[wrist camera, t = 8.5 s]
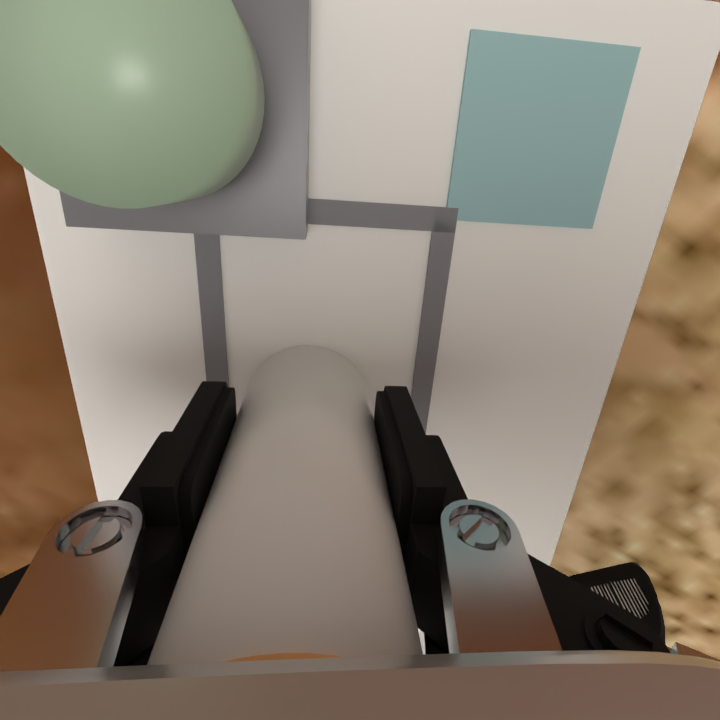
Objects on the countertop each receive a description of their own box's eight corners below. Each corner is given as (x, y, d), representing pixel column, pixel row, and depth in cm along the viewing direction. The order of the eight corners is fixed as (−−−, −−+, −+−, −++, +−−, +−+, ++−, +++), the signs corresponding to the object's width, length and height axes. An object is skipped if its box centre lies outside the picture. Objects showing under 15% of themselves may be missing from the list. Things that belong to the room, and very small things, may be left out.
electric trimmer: (558, 752, 24) (590, 829, 21) (554, 572, 18) (599, 648, 15) (622, 738, 24) (662, 813, 21) (640, 553, 18) (701, 625, 15)
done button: (262, -35, 7) (238, -116, 5) (266, 207, 8) (250, 216, 6) (15, -64, 6) (-111, -164, 4) (65, 195, 8) (-15, 200, 6)
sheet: (712, 12, 10) (738, 2, 9) (518, 629, 19) (525, 645, 18) (-11, -73, 9) (-39, -94, 8) (140, 643, 17) (132, 661, 16)
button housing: (311, -17, 9) (309, -54, 7) (307, 231, 11) (305, 239, 9) (55, -47, 8) (3, -91, 7) (100, 220, 10) (66, 226, 9)
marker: (375, 346, 12) (556, 933, 3) (365, 454, 13) (461, 1083, 4) (242, 341, 12) (-90, 1005, 2) (246, 453, 13) (55, 1142, 4)
